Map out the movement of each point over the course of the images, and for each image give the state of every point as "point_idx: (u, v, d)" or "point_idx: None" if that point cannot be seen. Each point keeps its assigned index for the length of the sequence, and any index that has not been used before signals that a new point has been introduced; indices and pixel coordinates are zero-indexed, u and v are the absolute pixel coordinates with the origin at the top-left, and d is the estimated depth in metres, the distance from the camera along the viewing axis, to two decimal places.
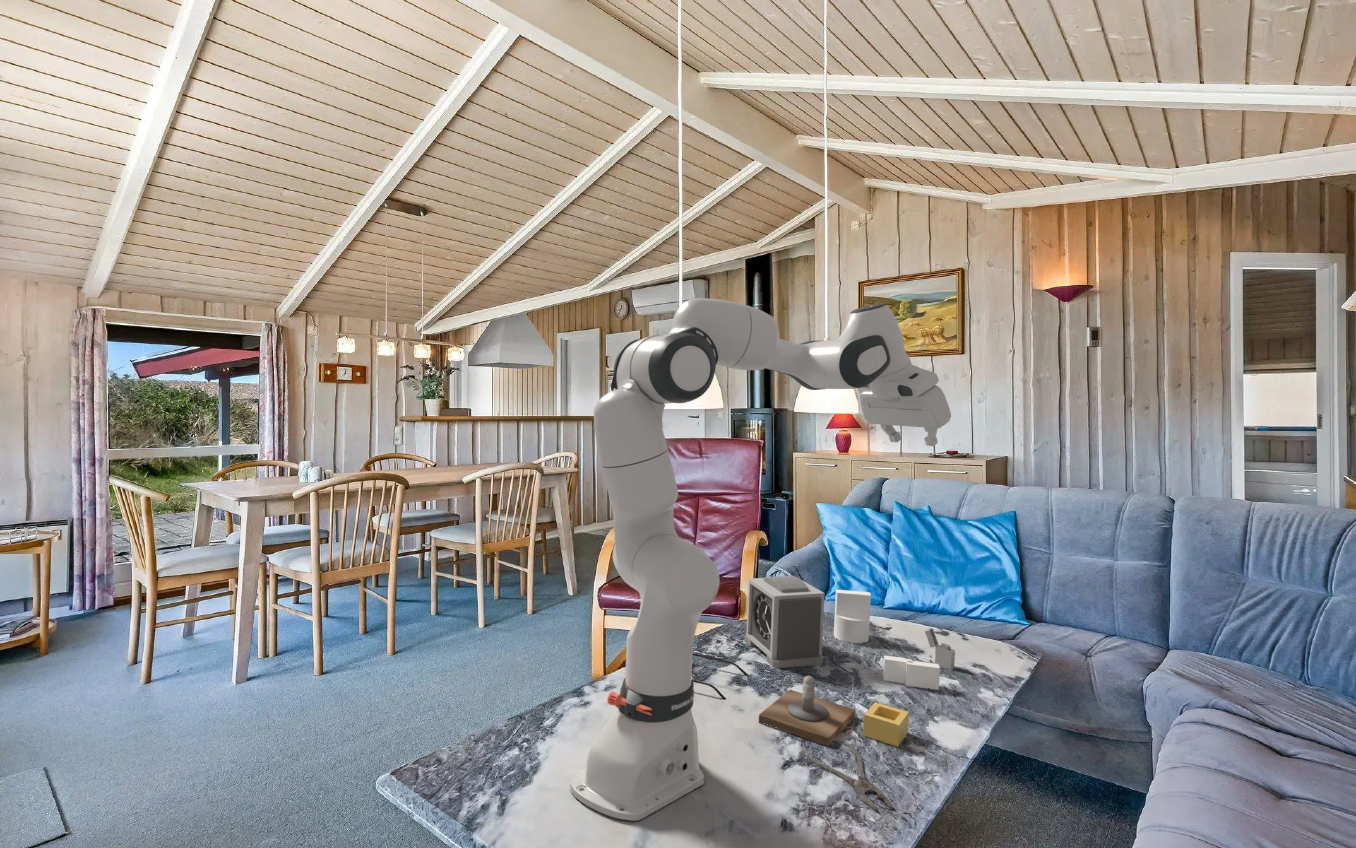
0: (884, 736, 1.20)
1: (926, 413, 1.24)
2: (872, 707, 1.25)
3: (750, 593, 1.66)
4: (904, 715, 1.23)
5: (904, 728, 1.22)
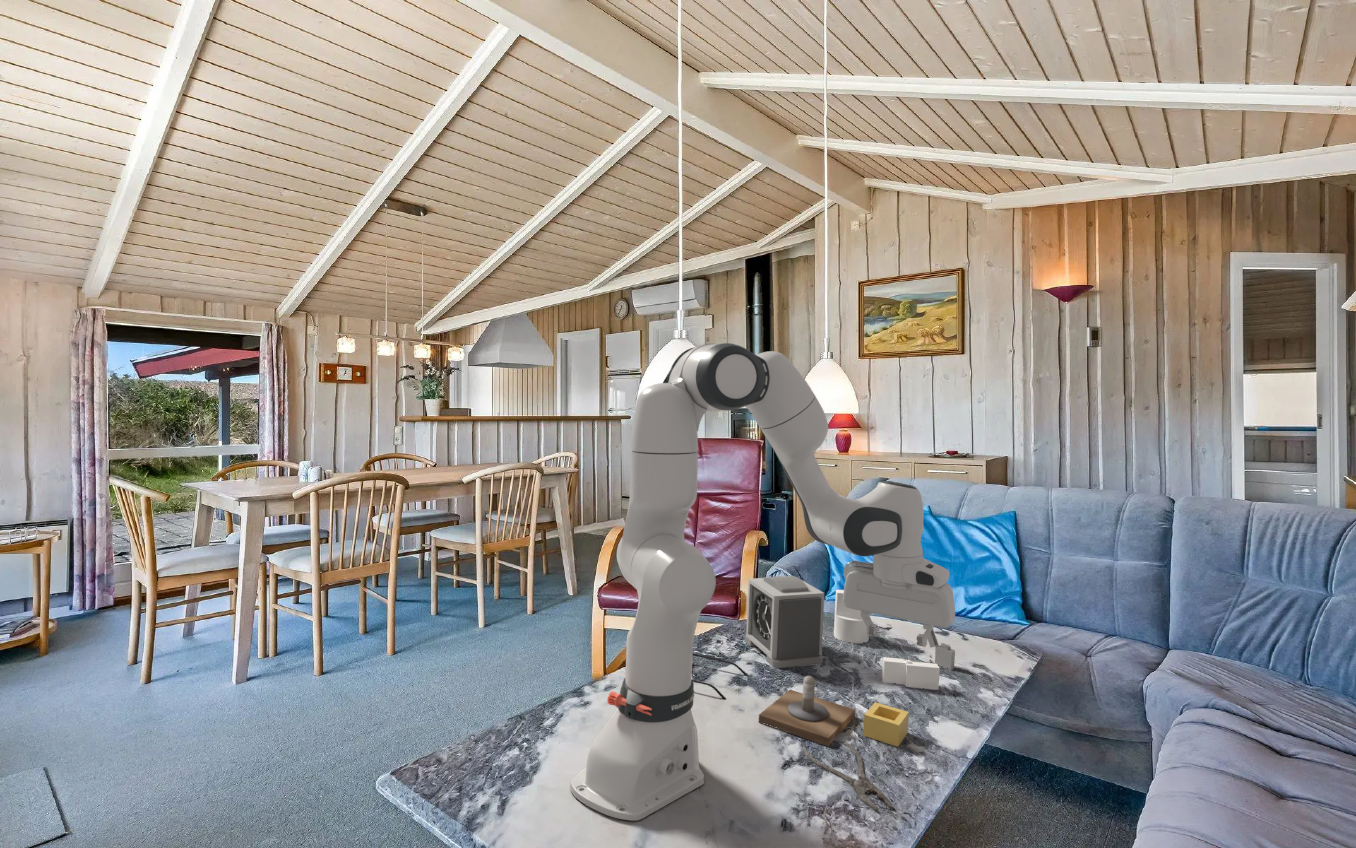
0: (884, 736, 1.20)
1: (937, 608, 1.17)
2: (872, 707, 1.25)
3: (750, 593, 1.66)
4: (904, 715, 1.23)
5: (904, 728, 1.22)
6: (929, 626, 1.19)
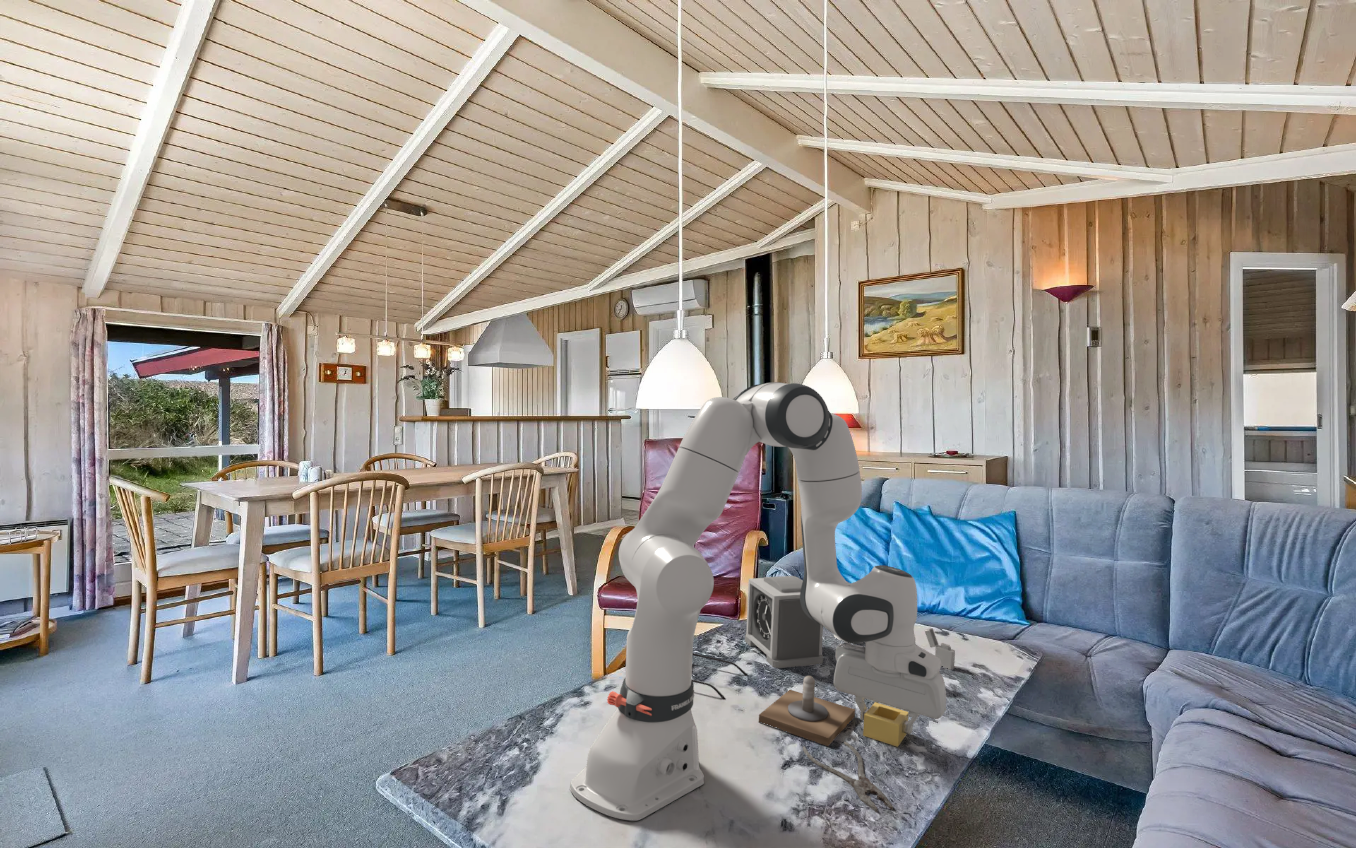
0: (884, 736, 1.20)
1: (928, 699, 1.17)
2: (872, 707, 1.25)
3: (750, 593, 1.66)
4: (904, 715, 1.23)
5: None
6: (915, 714, 1.19)
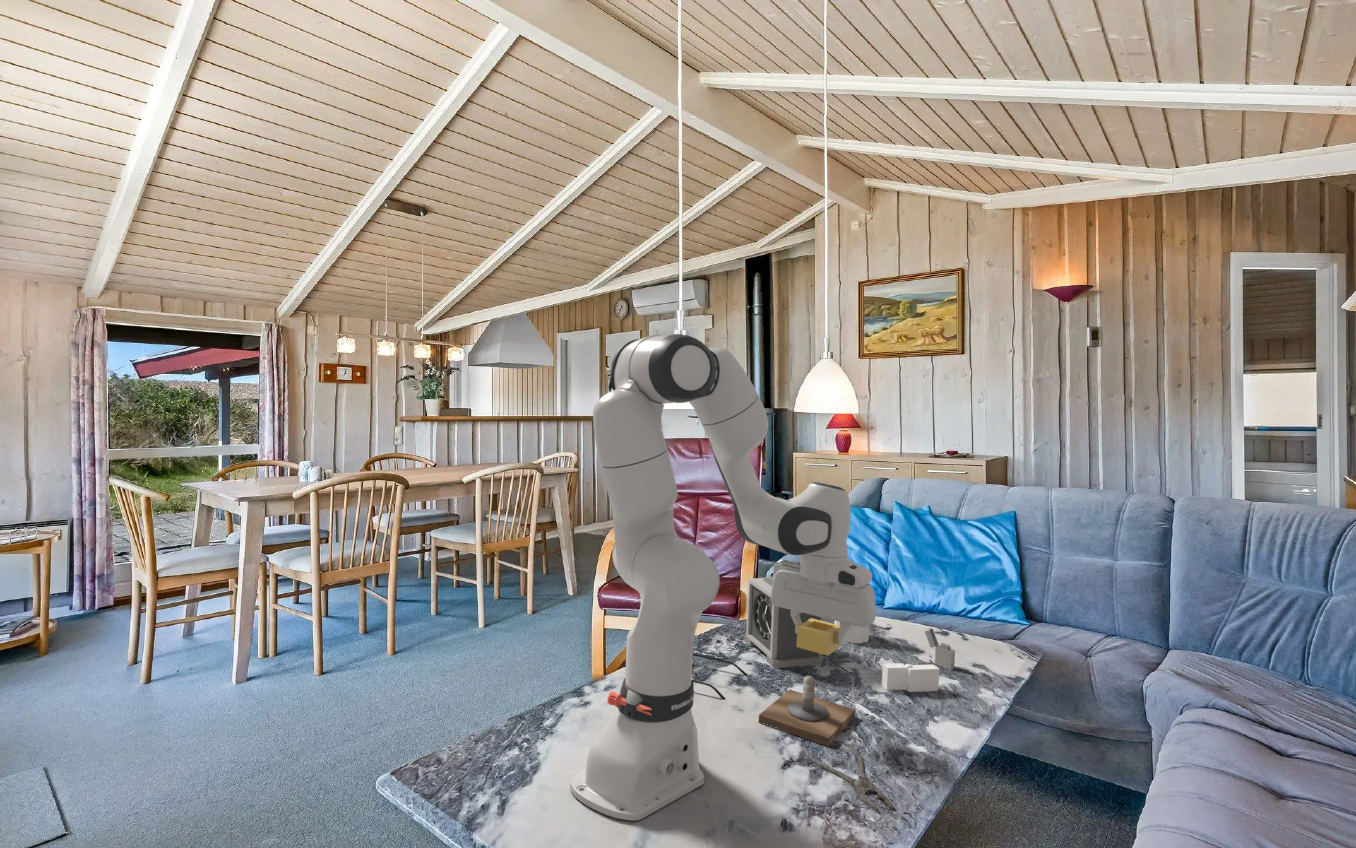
0: (816, 646, 1.23)
1: (857, 608, 1.20)
2: (807, 621, 1.29)
3: (750, 593, 1.66)
4: (837, 628, 1.26)
5: None
6: (845, 625, 1.22)
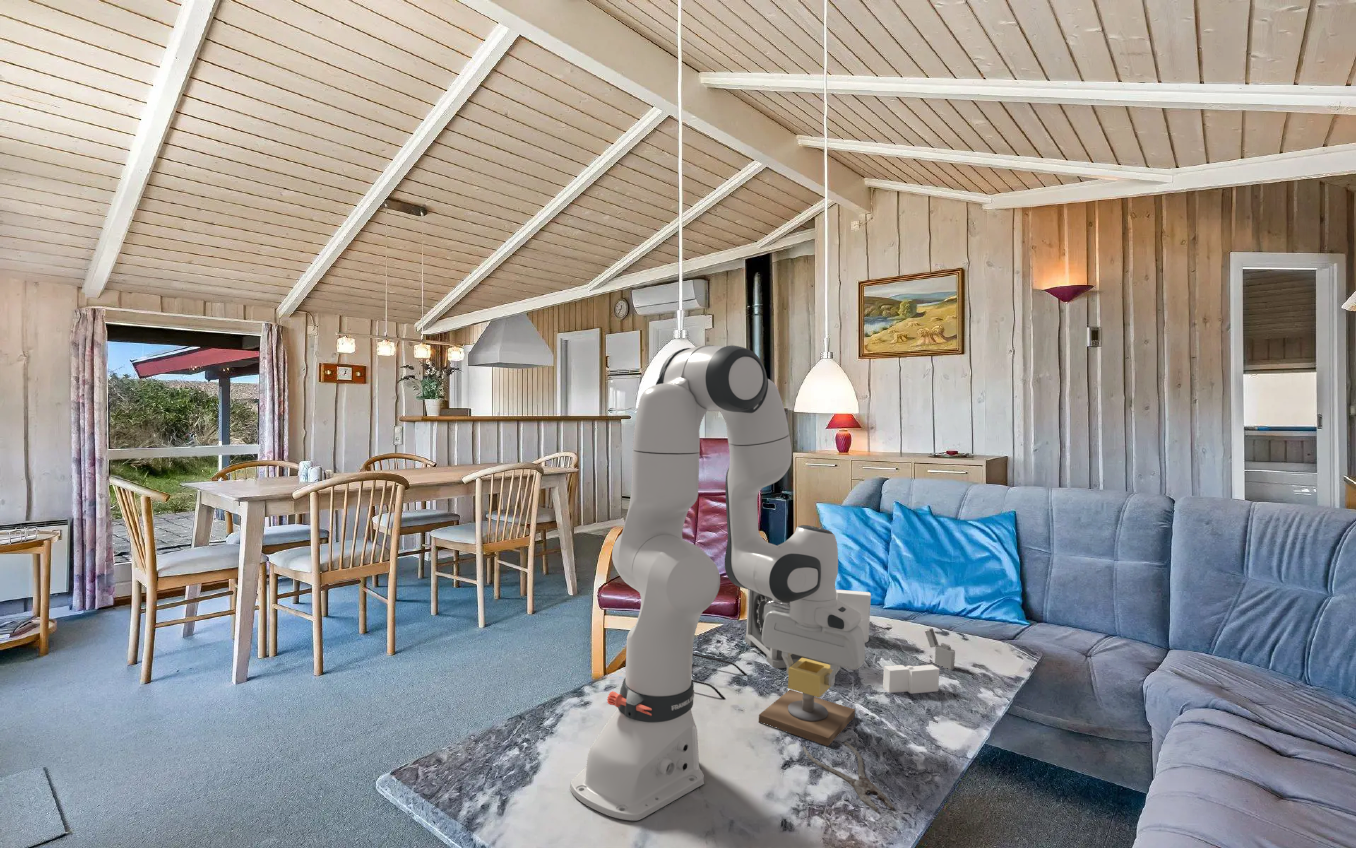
0: (807, 687, 1.25)
1: (847, 651, 1.22)
2: (798, 661, 1.30)
3: (750, 593, 1.66)
4: (827, 668, 1.27)
5: None
6: (836, 666, 1.24)
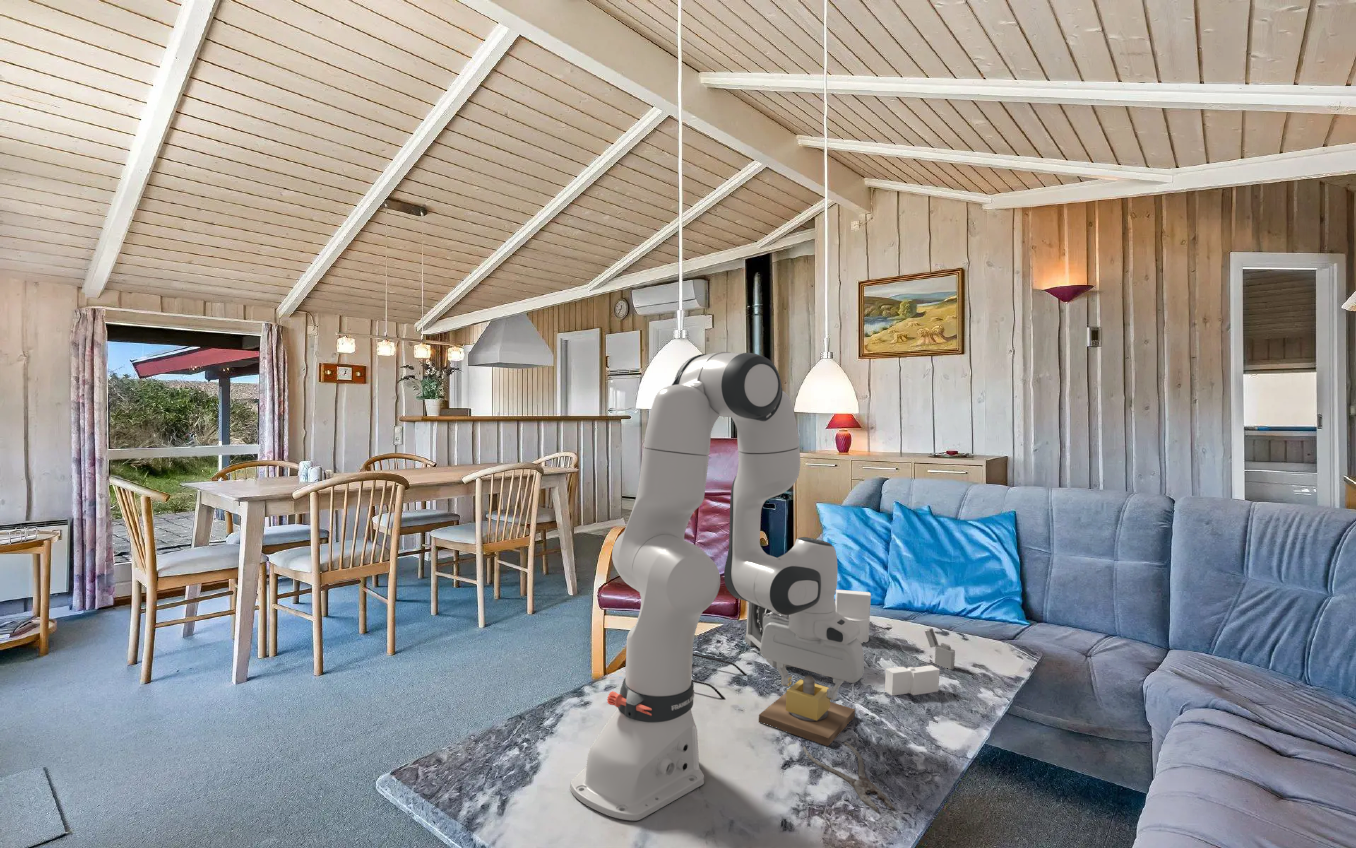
0: (805, 710, 1.25)
1: (845, 664, 1.22)
2: (796, 683, 1.30)
3: None
4: (825, 691, 1.27)
5: (825, 703, 1.27)
6: (838, 680, 1.23)
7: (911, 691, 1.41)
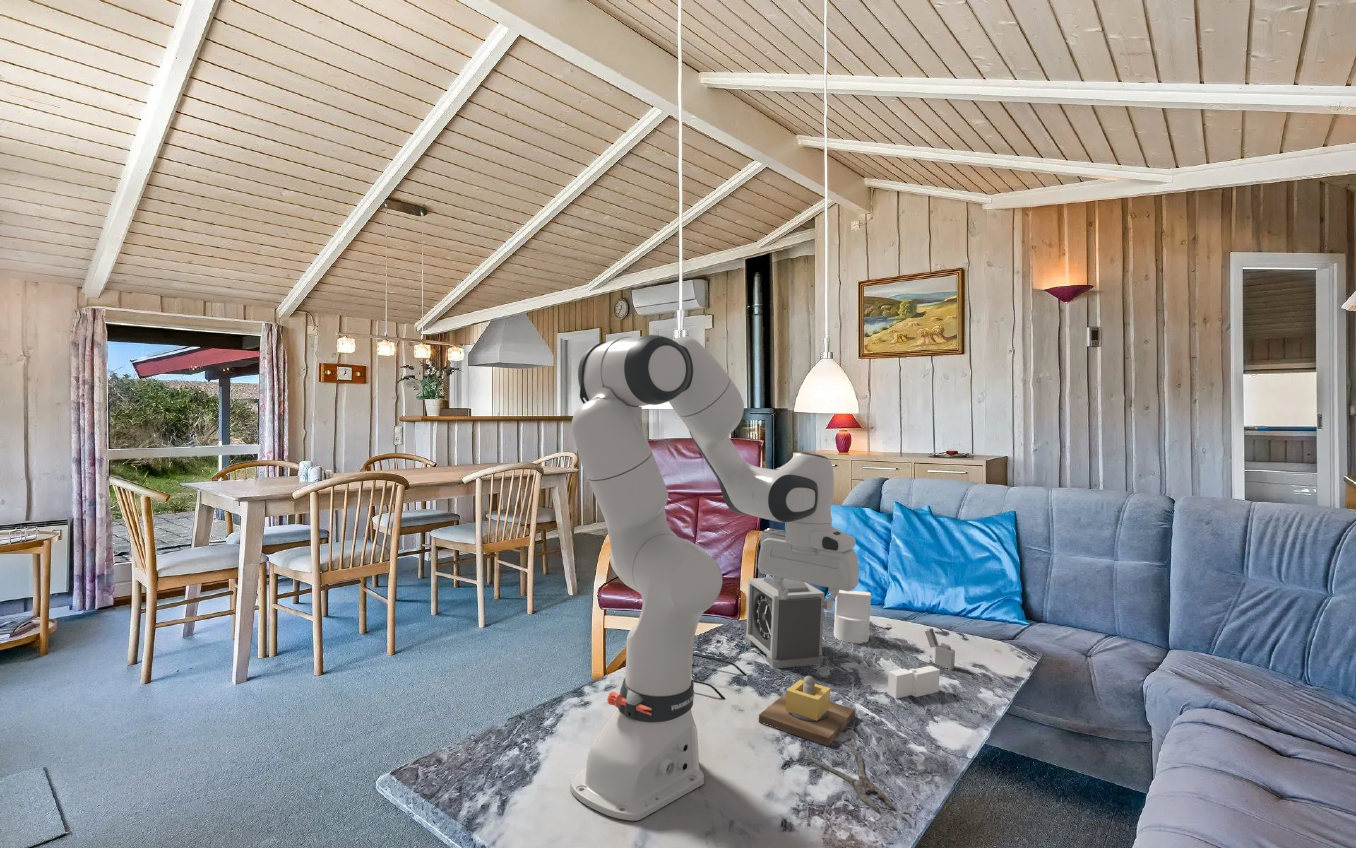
0: (805, 710, 1.25)
1: (841, 573, 1.24)
2: (796, 683, 1.30)
3: (750, 593, 1.66)
4: (825, 691, 1.27)
5: (825, 703, 1.27)
6: (834, 590, 1.25)
7: (913, 693, 1.40)
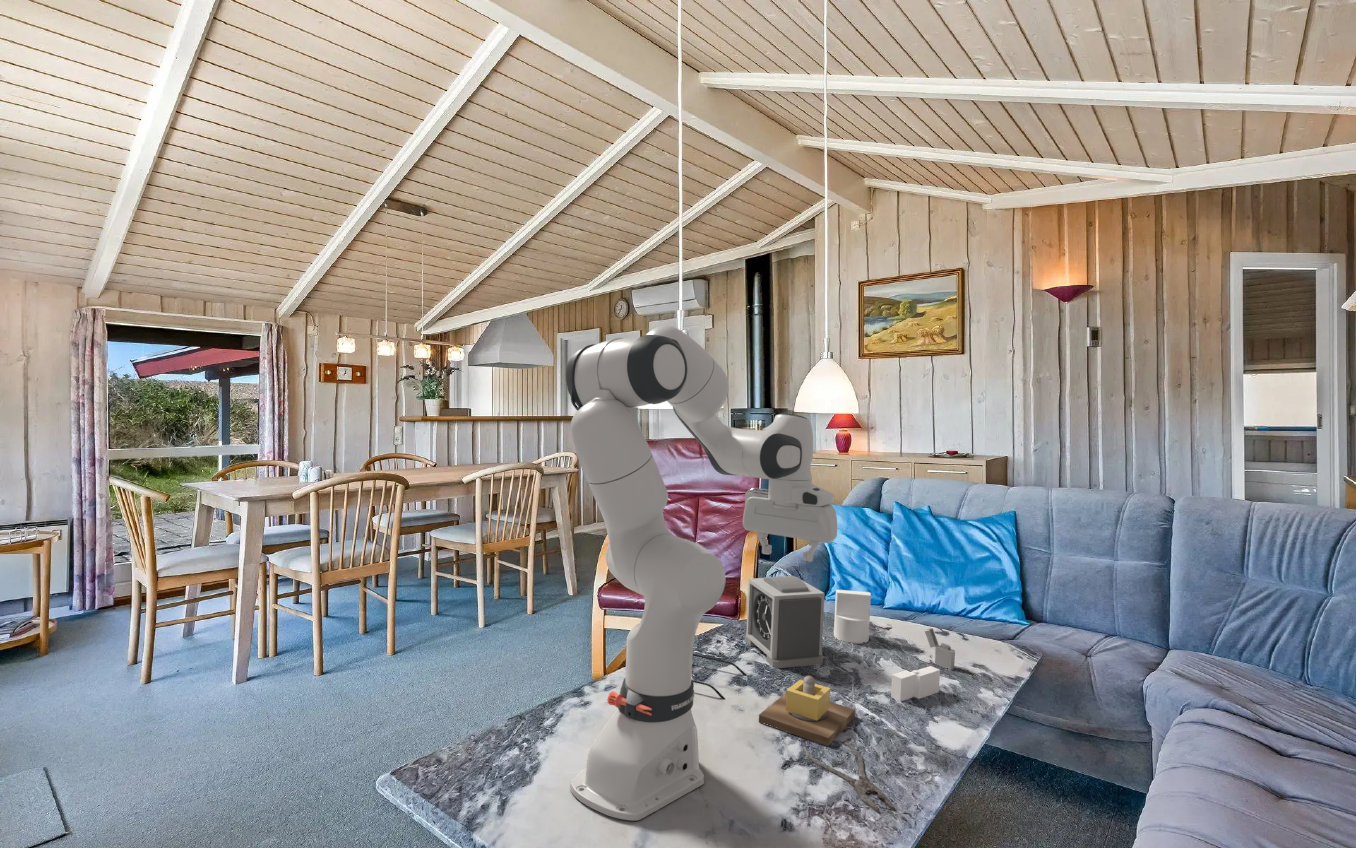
0: (805, 710, 1.25)
1: (820, 526, 1.31)
2: (796, 683, 1.30)
3: (750, 593, 1.66)
4: (825, 691, 1.27)
5: (825, 703, 1.27)
6: (814, 542, 1.33)
7: (916, 695, 1.39)
